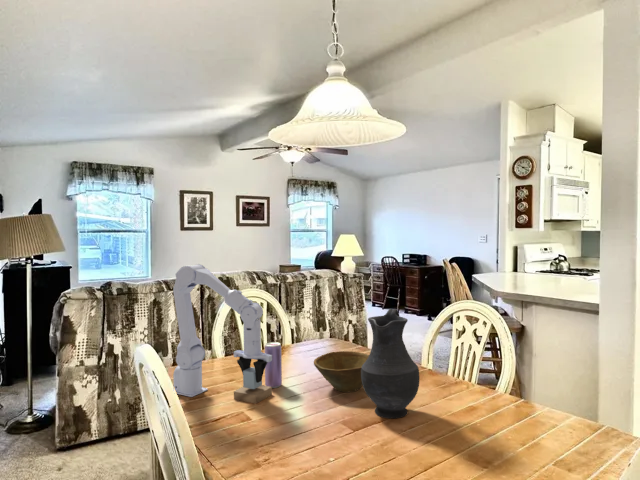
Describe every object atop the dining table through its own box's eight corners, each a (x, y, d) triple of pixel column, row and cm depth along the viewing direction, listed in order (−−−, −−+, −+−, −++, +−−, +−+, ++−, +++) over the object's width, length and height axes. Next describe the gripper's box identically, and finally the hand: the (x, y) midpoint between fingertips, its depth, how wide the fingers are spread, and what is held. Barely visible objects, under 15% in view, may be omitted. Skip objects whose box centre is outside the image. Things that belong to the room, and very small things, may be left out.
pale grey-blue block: (243, 387, 145) (243, 370, 145) (251, 383, 149) (251, 367, 149) (254, 389, 143) (253, 372, 143) (261, 385, 147) (261, 368, 147)
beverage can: (279, 389, 153) (278, 346, 153) (262, 388, 154) (262, 345, 154) (283, 383, 159) (283, 342, 159) (268, 382, 160) (267, 341, 160)
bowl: (304, 382, 159) (304, 355, 159) (359, 374, 168) (359, 348, 168) (329, 403, 139) (328, 372, 139) (390, 392, 148) (390, 363, 148)
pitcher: (355, 419, 127) (353, 316, 126) (371, 394, 146) (370, 305, 146) (415, 427, 121) (414, 319, 120) (424, 401, 140) (423, 307, 140)
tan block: (233, 400, 144) (233, 391, 144) (250, 391, 152) (250, 383, 152) (256, 405, 140) (255, 395, 140) (271, 395, 148) (271, 386, 148)
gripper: (227, 340, 146) (228, 380, 146) (262, 345, 139) (263, 387, 139) (240, 336, 152) (241, 374, 152) (275, 340, 145) (276, 381, 145)
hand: (252, 380), depth 146 cm, fingers closed on pale grey-blue block, 4 cm apart
